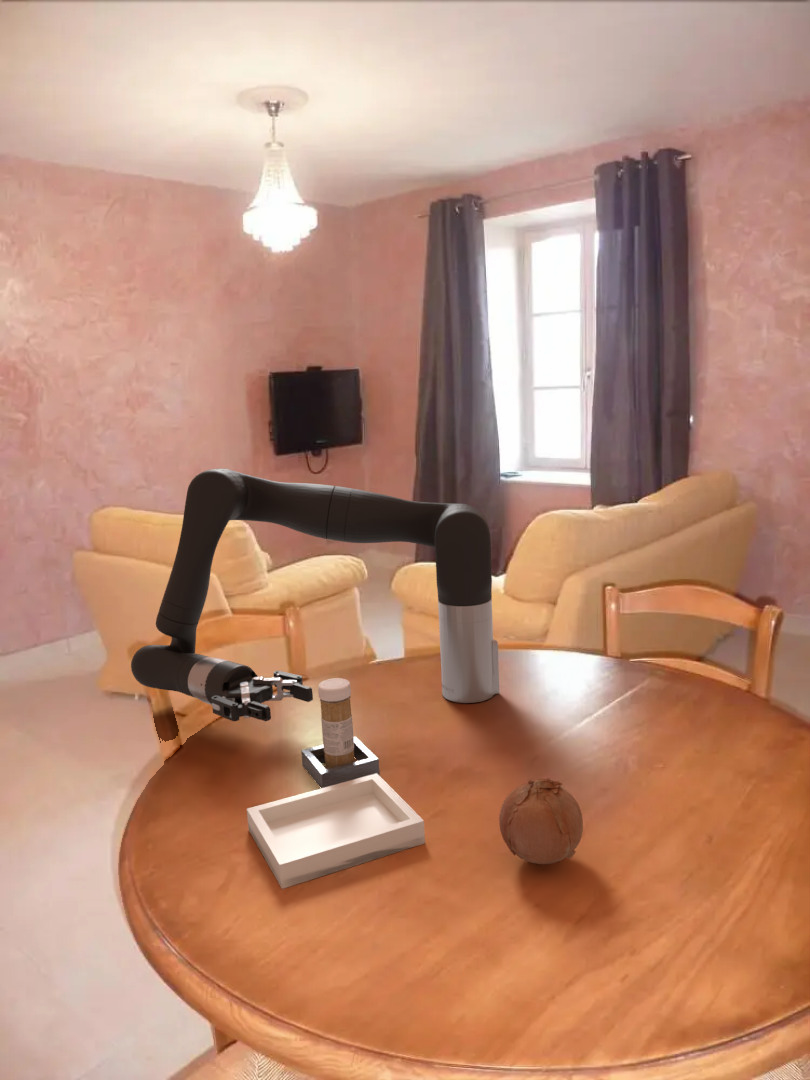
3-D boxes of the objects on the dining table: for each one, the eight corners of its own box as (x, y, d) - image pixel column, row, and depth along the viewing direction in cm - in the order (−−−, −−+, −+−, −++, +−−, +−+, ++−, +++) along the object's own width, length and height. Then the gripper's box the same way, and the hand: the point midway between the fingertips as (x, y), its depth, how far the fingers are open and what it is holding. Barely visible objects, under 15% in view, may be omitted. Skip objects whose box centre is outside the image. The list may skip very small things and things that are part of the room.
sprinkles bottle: (344, 760, 123) (338, 674, 120) (362, 770, 119) (356, 682, 117) (318, 770, 120) (311, 683, 117) (336, 781, 116) (329, 691, 114)
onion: (549, 829, 102) (547, 754, 100) (601, 867, 93) (600, 786, 91) (484, 853, 97) (481, 775, 95) (533, 895, 89) (531, 810, 87)
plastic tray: (378, 793, 112) (376, 773, 112) (425, 843, 100) (423, 820, 99) (248, 830, 105) (246, 808, 104) (281, 889, 93) (279, 864, 92)
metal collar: (356, 751, 125) (355, 736, 125) (379, 775, 118) (378, 758, 117) (302, 765, 122) (301, 750, 121) (322, 790, 114) (321, 774, 114)
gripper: (183, 675, 128) (251, 696, 118) (254, 648, 139) (322, 666, 129) (188, 720, 130) (256, 745, 120) (258, 691, 140) (326, 711, 130)
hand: (290, 704), depth 124 cm, fingers open, 8 cm apart
